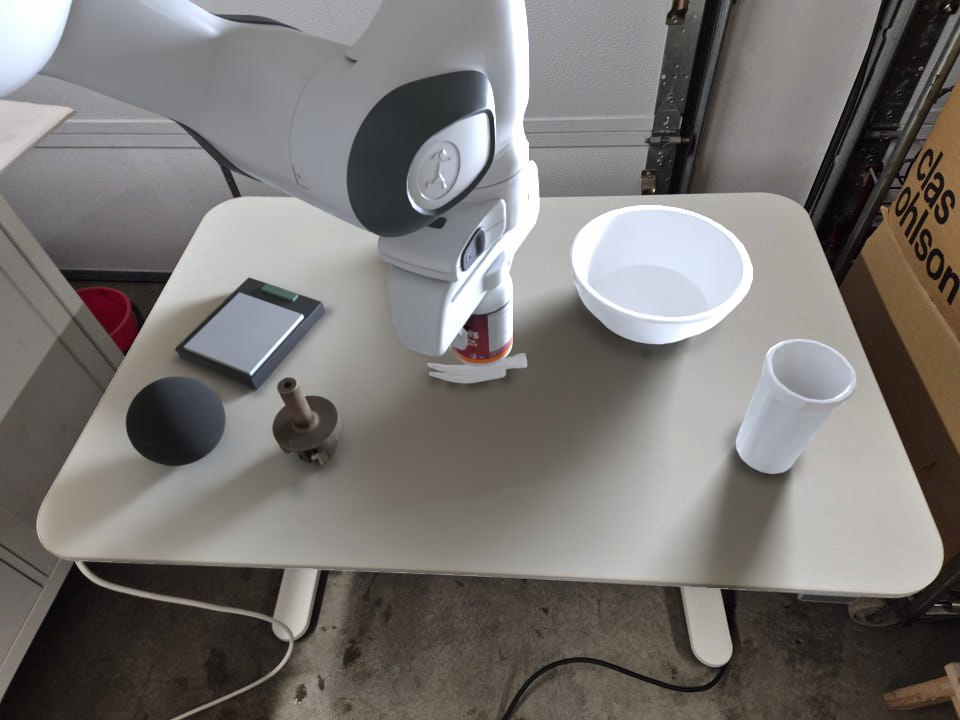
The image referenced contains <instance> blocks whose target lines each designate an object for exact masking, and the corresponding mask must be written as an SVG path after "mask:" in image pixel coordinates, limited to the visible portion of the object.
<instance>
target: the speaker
mask: <svg viewBox="0 0 960 720" xmlns="http://www.w3.org/2000/svg"><path fill="white" fill-rule="evenodd" d="M226 419H227V418H226V410H225V407H224V404H223V402H222V400H221V398H220V396H219V395H218V393H217V392H216V391H215V390H214V389H213V388H212V387H211V386H210V385H208V384H206V382H205V383H204V382H203V381H201V380H199V379H197V378H194V377H189V376H185V375H173V376H172V375H171V376H166V377H162V378H159V379H155V380H154V381H152V382H150V383H148V384H147V385H145V386H144V387H143V388H141V389H140V390H139V391H138V392H137V393H136V395H135V396H134V397H133V399H132V400H131V402H130V403H129V406H128V408H127V411H126V416H125V429H126V435H127V438H128V440H129V442H130V444H131V446H132V447H133V449H135V450H136V452H137V453H138V454H139V455H140V456H142V457H143V458H144V459H146V460H148V461H149V462H152V463H155V464H158V465H161V466H167V467H180V466H185V465H190V464H192V463H195V462H198V461H199V460H201V459H203V458H204V457H206V456H208V455H209V454H210V453H211V452H212V451H213V450H214V449H215V448H216V446H217V445H218V444H219V443H220V441H221V439H222V437H223V435H224V432H225V427H226Z"/></svg>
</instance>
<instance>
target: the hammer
mask: <svg viewBox="0 0 960 720" xmlns="http://www.w3.org/2000/svg"><path fill="white" fill-rule="evenodd" d="M527 359H528V358H527V355H526V353H525V352H521V353H516V354H515V355H512V356H506V357H505V358H504V359H503V360H501V361H500V362H498V363H496V364H494V365H490V366H485V367H474V366H470V365H467V364H465V363H462V364H441V363H432V362H427V367H428V368H430V369H434V370H438V372H437V371H428V375H429V376H430V377H434V378H437V379H440V380H444V381H447V382H451V383H456V384H457V383H458V384H475V383H480V382H481V383H482V382H486V381H492V380H498V379H503V378H505V377H506V375H507V370H510V369H518V370H519V369H525V368H527V367H528V360H527ZM439 371H440V372H439Z"/></svg>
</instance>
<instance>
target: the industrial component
mask: <svg viewBox="0 0 960 720" xmlns="http://www.w3.org/2000/svg"><path fill="white" fill-rule="evenodd" d="M276 385H277V386H276V389H277V392H278V394H279V395H280V398H281V400H282V402H283V403H284V406H282V407H281V408H280V410H278V412H277V414H276V415H275V416H274V419H273V422H272V429H271V430H272V436H273V438H274V440H275V443H276V444H277V445H278V447H279V448H280V449H281V451H283V452H284V454H286V455H290V454H292V453H294V452H295V453H296V454H297V456H298V458H299V460H301V461H303V462H305V463H307V464H312V463H313V462H314V461H318V463H319V465H320V466H325V465H327V464H328V463H329V462H330V458H331V457H332V456H333V455H334V454H335V452H336V450H337V448H338V437H339V435H340V432H341V429H342V420H341V416H340V414H339V411H338V409H337V407H336V406H335V403H333V402H332V401H331V400H329V399H328V398H326V397H324V396H321V395H305V394H304V392H303V390H302V388H301V385H300V383H299V381H298V379H296V378H295V377H292V376H291V377H289V376H287V377H284V378H282V379H281V380H280V381H279V382H278V383H277V384H276Z"/></svg>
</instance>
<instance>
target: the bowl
mask: <svg viewBox="0 0 960 720" xmlns="http://www.w3.org/2000/svg"><path fill="white" fill-rule="evenodd" d="M749 255H750V254H748V251H747V250H746V248H745V247H744V244H743V243H742V242H741V241H740V240H739V239H738V238H737V237H736V236H735V235H734V234H733V233H732V232H731V231H729V230H728V229H727V228H725V227H723V225H721V224H719V223H717V222H715V221H714V220H712V219H710V218H708V217H706V216H703V215H701V214H698V213H696V212H693V211H689V210H685V209H683V208H677V207H671V206H663V205H634V206H627V207H626V206H625V207H621V208H619V209H614V210H611V211H608V212H606V213H603V214H601V215H599V216H597V217H595V218H594V219H592V220H591V221H589V222H587V223H586V224H584V226H583V227H582V228H581V229H580V230H579V231H578V232H577V233H576V234H575V236H574V238H573V240H572V241H571V243H570V246H569V250H568V267H569V270H570V273H571V277H572V280H573V282H574V285H575V287H576V290H577V293H578V296H579V298H580V299H581V301H582V303H583V304H584V306H585V307H586V309H587V310H588V311H589V312H590V313H591V314H592V315H593V316H594V317H595V318H597V319H598V320H599V321H600V322H601V323H602V325H604V326H605V327H606V328H607V329H608V330H610V331H611V332H612V333H614V334H616V335H618V336H620V337H622V338H624V339H627V340H630V341H633V342H636V343H641V344H647V345H664V344H673V343H676V342H680V341H683V340H685V339H687V338H690V337H693V336H697V335H701V334H702V333H704V332H707V331H708V330H710V329H712V328H714V326H716V325H717V324H719V323H720V322H721V321H722V320H723V319H724V318H725V317H727V315H729V313H730V312H732V311H733V310H734V309H735V308H736V307H738V305H739V304H740V303H741V302H742V300H743V299H744V298H745V297H746V295H747V294H748V293H749V290H750V287H751V284H752V281H753V265H752V263H751V258H750V257H749Z"/></svg>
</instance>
